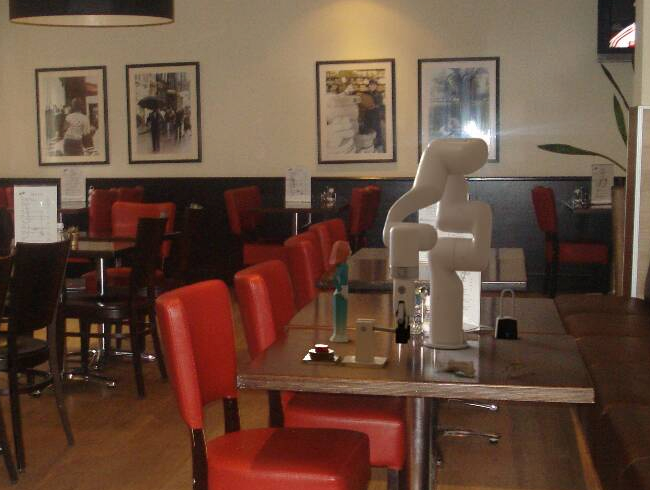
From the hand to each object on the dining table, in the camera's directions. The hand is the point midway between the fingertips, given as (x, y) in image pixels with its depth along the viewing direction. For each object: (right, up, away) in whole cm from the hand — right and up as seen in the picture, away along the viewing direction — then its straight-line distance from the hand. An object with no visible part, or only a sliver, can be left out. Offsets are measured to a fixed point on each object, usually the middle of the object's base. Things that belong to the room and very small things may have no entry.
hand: (402, 340), depth 274 cm
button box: (-21, -6, +7) cm, 23 cm away
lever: (-5, +2, +1) cm, 6 cm away
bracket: (-10, -7, +3) cm, 12 cm away
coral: (+12, -8, -10) cm, 17 cm away
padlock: (+39, -3, +42) cm, 58 cm away
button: (-21, -4, +6) cm, 22 cm away
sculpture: (-12, -3, +38) cm, 40 cm away
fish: (+26, -8, -12) cm, 30 cm away
